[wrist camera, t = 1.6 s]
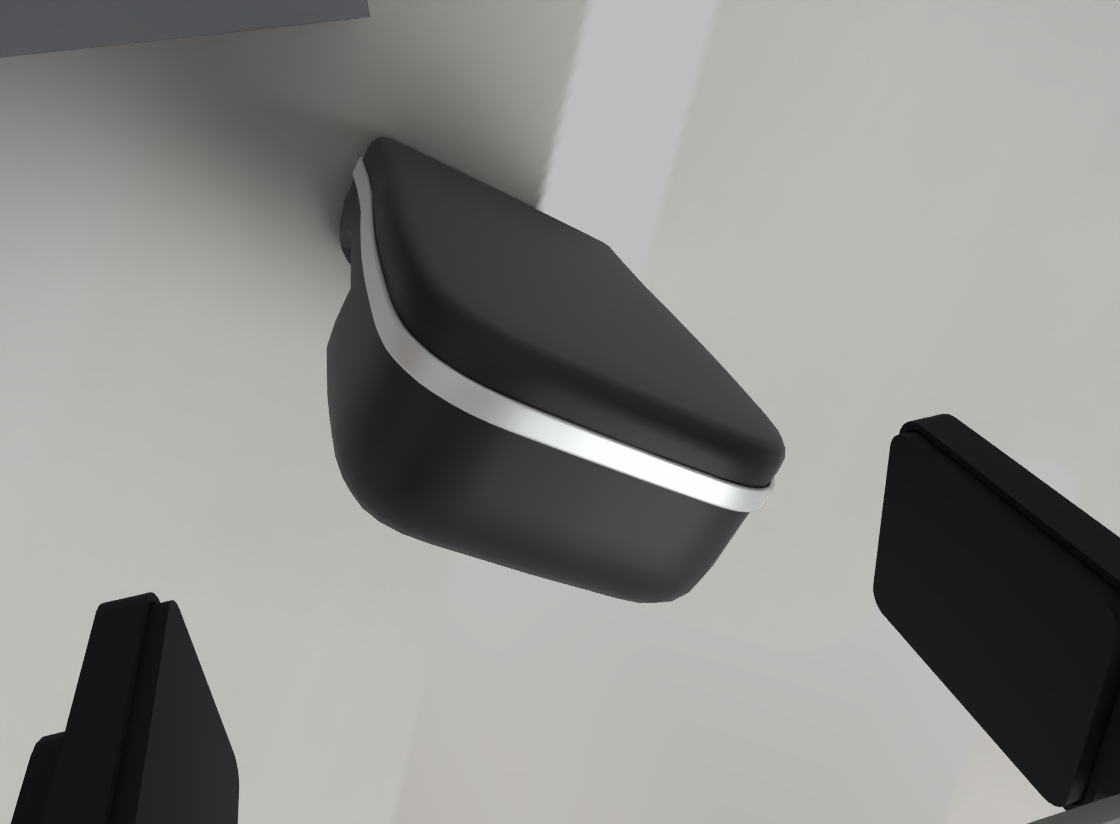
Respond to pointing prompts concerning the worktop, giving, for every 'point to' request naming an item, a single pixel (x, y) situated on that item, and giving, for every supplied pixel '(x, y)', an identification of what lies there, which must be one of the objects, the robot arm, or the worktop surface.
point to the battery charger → (530, 392)
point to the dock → (151, 20)
